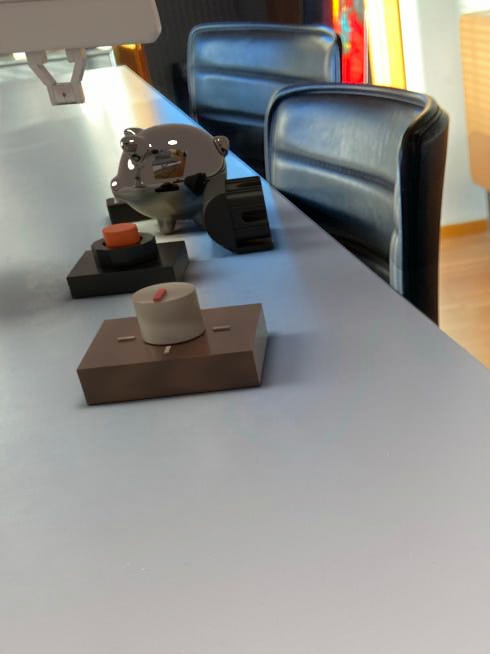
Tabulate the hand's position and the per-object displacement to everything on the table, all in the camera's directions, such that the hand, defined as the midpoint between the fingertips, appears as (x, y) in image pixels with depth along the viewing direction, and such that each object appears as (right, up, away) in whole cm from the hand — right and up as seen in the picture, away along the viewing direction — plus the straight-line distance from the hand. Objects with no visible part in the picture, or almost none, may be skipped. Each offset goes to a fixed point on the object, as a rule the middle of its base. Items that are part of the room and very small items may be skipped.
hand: (68, 104), depth 99 cm
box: (+2, -13, +12) cm, 17 cm away
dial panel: (+14, -29, -11) cm, 34 cm away
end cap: (+12, -6, +20) cm, 24 cm away
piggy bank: (+3, 0, +29) cm, 29 cm away
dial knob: (+14, -26, -13) cm, 32 cm away
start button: (+2, -10, +10) cm, 14 cm away
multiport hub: (-3, +4, +35) cm, 35 cm away
